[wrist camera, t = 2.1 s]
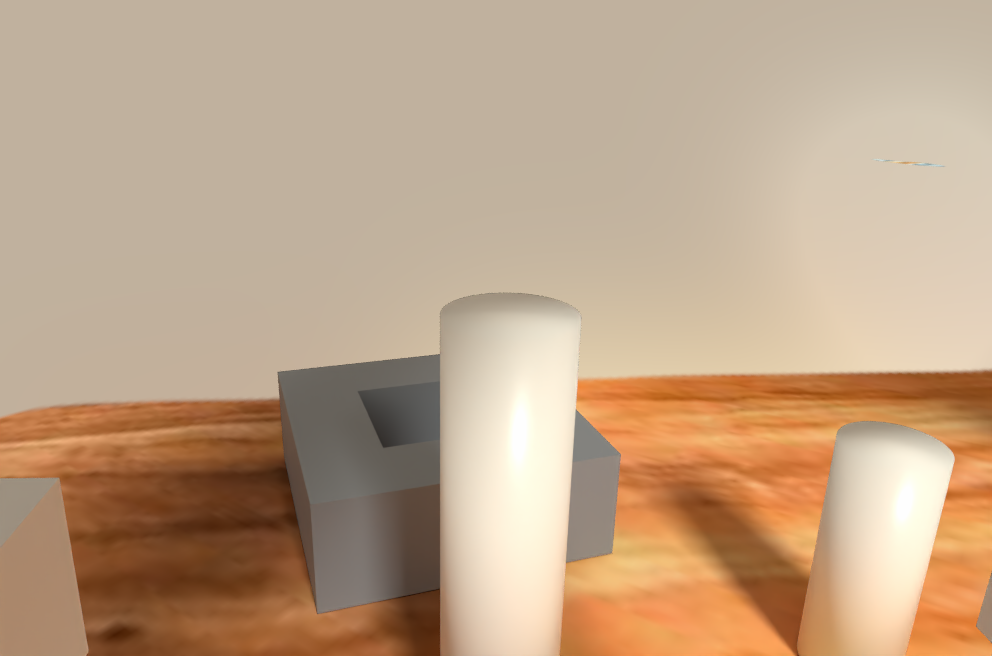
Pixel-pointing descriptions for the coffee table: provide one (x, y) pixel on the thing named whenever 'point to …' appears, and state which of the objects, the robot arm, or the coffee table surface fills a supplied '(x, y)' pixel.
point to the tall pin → (505, 471)
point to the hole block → (398, 479)
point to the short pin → (874, 540)
